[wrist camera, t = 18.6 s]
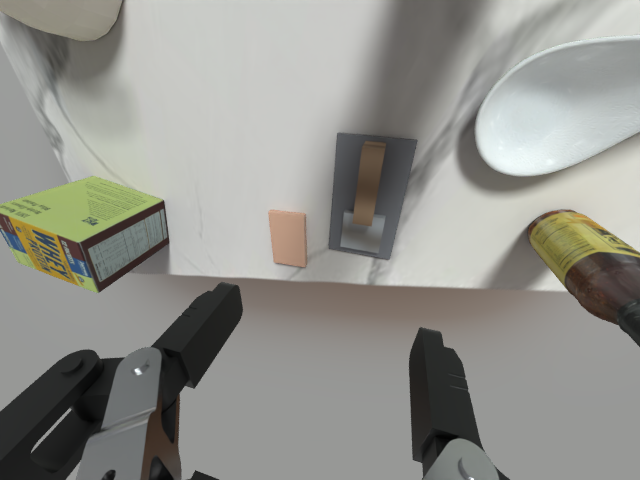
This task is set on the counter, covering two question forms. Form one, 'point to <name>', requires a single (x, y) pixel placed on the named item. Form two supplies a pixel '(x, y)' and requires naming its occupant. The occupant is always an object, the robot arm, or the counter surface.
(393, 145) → the mat
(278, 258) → the tile
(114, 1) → the kettle
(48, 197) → the protein box
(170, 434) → the robot arm
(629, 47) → the spoon rest
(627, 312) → the sauce bottle
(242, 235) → the counter surface
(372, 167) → the tall tan post
